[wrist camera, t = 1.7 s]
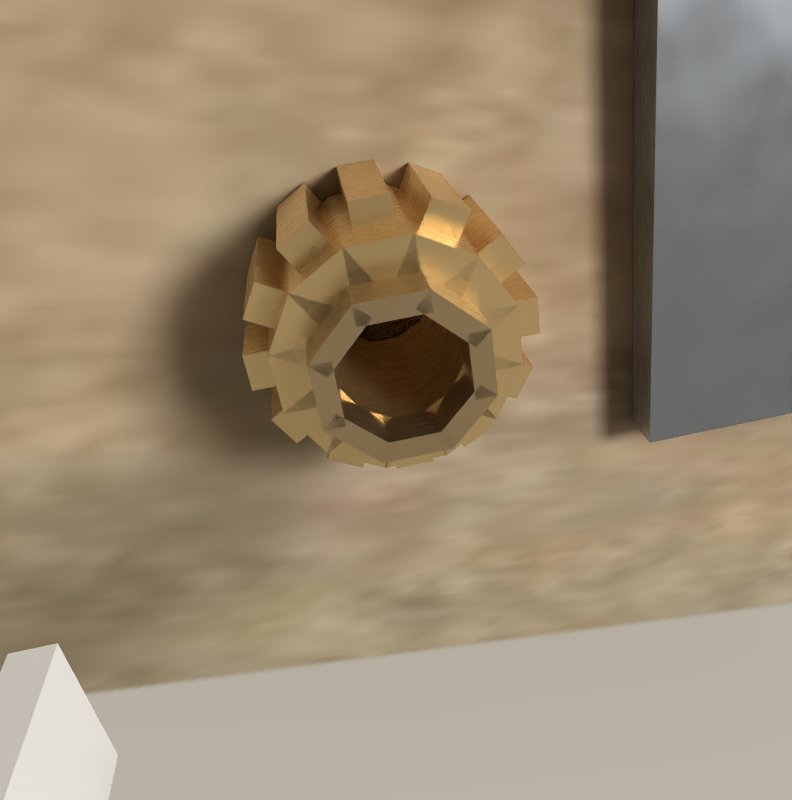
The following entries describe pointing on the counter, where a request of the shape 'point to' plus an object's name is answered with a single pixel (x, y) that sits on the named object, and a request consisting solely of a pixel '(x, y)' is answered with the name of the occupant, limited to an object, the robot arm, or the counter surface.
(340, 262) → the gear
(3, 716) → the robot arm
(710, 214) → the carrier
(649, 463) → the counter surface
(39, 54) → the counter surface
